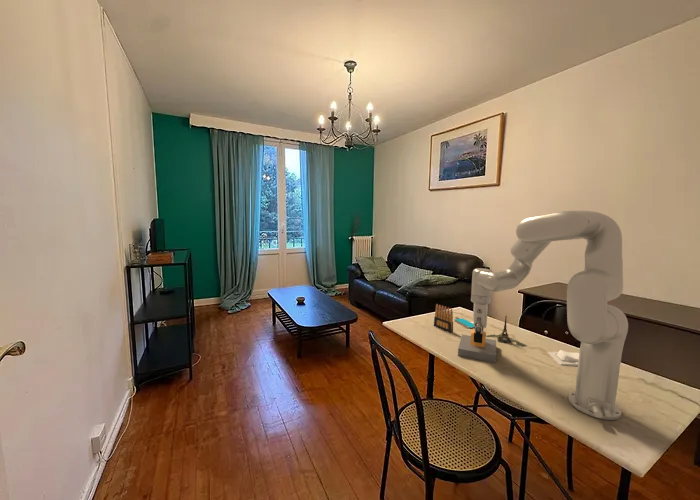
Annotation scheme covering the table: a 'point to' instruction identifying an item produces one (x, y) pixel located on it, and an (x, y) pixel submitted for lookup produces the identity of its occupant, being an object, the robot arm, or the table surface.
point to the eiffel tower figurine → (505, 337)
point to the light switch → (565, 357)
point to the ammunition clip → (444, 318)
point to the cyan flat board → (464, 322)
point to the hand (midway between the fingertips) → (478, 338)
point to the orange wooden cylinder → (476, 342)
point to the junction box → (477, 349)
